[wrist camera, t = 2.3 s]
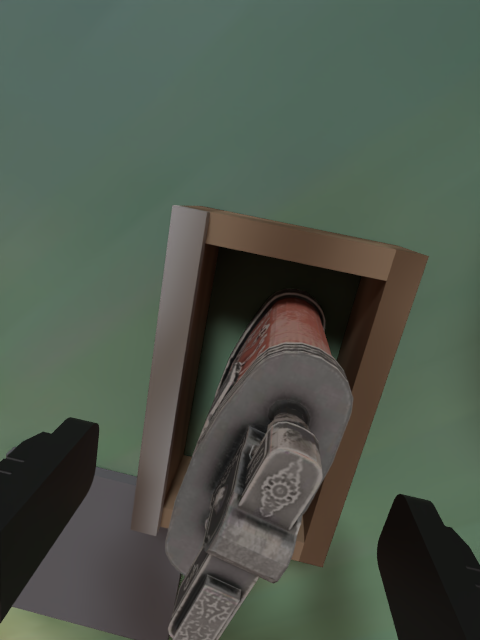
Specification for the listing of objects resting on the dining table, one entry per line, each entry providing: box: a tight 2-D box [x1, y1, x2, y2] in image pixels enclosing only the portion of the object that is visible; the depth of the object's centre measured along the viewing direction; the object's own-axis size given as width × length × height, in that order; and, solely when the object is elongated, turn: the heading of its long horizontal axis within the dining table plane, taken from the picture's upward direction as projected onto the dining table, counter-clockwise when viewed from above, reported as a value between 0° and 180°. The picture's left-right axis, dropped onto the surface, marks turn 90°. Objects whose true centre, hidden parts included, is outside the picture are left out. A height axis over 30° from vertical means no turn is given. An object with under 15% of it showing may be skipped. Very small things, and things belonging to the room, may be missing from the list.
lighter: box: [165, 289, 353, 640], centre depth 12 cm, size 8×3×10 cm, turn 155°
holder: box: [130, 205, 429, 567], centre depth 15 cm, size 8×13×4 cm, turn 169°
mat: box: [6, 447, 181, 640], centre depth 21 cm, size 10×11×1 cm
